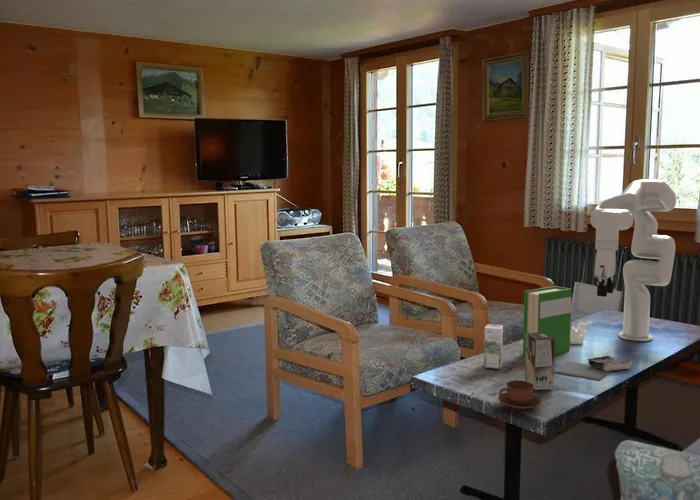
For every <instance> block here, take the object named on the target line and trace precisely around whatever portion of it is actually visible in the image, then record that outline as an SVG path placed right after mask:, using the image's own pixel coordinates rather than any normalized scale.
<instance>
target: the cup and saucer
mask: <svg viewBox="0 0 700 500" xmlns="http://www.w3.org/2000/svg"><path fill="white" fill-rule="evenodd" d="M504 391H506V392H504ZM502 392H503V393H502ZM498 401H499V402H500V403H501V404H502V405H504V406H505V407H509V408H512V409H517V410H529V409H534V408H537V407H538V406H540V405H541V404H542V399H541V398H540V397H539V396H537V395H535V394H534V389H533V384H531V383H529V382H526V381H525V380H510V381H508V382H507V383H506V387H504V388H501V389H500V390H499V392H498Z"/></svg>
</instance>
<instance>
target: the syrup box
mask: <svg viewBox="0 0 700 500" xmlns="http://www.w3.org/2000/svg"><path fill="white" fill-rule="evenodd" d="M503 335H504V326H503V324H488V323H487V324H486V325H485V327H484V348H483V349H484V353H483V356H484V357H483V358H484V360H483V363H484V364H483V366H484V367H483V368H486V369H494V370H501V368H502V366H503Z"/></svg>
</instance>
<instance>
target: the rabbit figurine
mask: <svg viewBox="0 0 700 500" xmlns="http://www.w3.org/2000/svg"><path fill="white" fill-rule="evenodd" d="M592 325H593V320H591V321H587V322H584V321H583V320H581V321H580V322H579V323H577V324H576V326H575V323H572V327H571V328H570V345H580V344H581V345H582V344H585V342H584V341H585V338H586V336H587V332H586V329H587V328H586V327H587V326H588V327H589V326H592Z"/></svg>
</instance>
